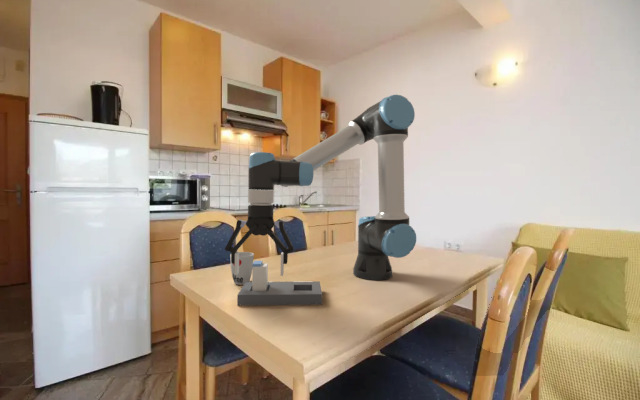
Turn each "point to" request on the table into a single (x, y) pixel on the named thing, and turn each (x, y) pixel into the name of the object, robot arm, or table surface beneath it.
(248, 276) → the cup
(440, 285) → the table surface
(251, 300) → the panel
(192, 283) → the table surface
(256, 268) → the plug
